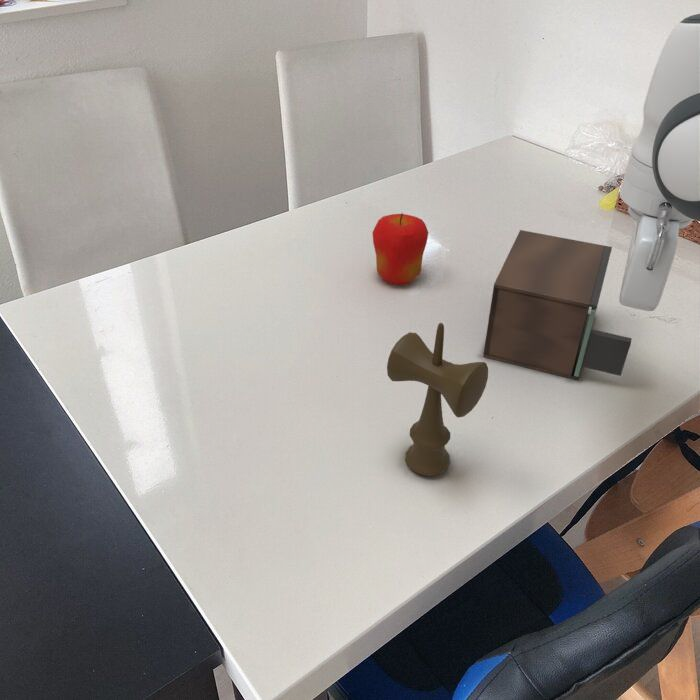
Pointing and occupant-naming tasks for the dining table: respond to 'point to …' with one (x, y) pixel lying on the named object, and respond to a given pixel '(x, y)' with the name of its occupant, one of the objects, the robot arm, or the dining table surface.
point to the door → (602, 350)
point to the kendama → (435, 396)
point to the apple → (399, 247)
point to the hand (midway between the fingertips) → (632, 299)
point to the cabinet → (545, 302)
